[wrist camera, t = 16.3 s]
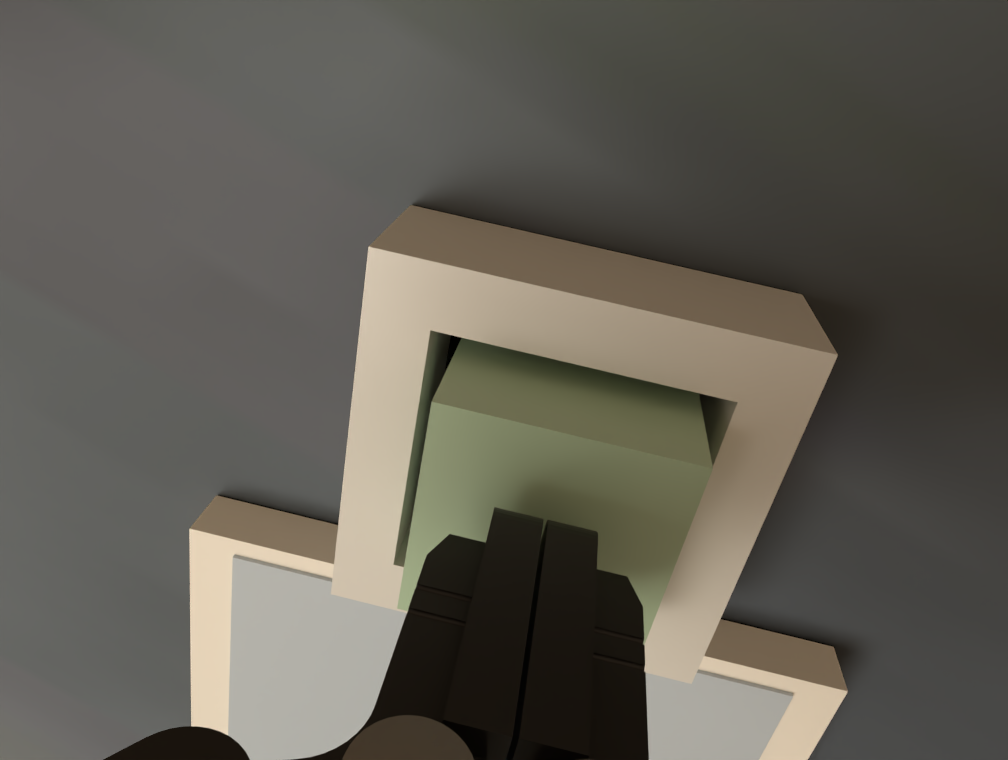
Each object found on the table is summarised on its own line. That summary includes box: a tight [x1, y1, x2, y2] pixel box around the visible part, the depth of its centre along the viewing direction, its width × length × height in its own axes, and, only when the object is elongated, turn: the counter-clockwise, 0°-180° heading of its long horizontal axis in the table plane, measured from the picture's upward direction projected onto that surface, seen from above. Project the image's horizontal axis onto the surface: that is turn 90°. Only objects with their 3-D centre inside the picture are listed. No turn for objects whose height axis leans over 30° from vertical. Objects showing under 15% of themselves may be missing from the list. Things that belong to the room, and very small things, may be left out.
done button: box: [397, 338, 713, 645], centre depth 13 cm, size 4×4×2 cm
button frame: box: [331, 205, 838, 684], centre depth 14 cm, size 7×7×2 cm
